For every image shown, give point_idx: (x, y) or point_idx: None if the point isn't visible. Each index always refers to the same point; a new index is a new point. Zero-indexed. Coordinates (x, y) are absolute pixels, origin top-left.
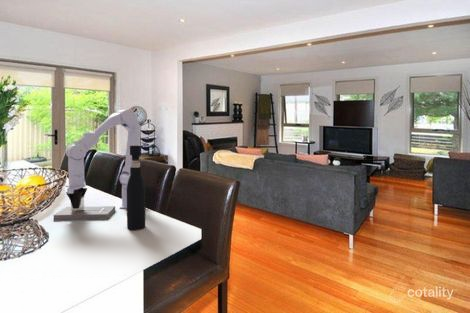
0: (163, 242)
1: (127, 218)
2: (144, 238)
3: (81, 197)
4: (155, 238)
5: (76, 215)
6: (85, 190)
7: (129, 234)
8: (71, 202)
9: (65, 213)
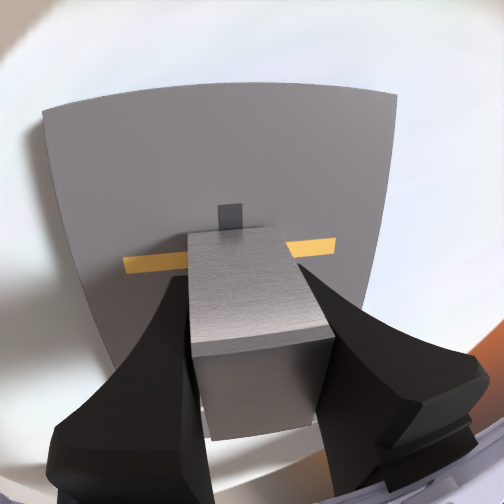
0: (30, 486)
1: (62, 493)
2: (29, 474)
3: (222, 439)
4: (40, 483)
5: (95, 311)
6: (335, 491)
7: (31, 461)
8: (149, 327)
9: (109, 205)
